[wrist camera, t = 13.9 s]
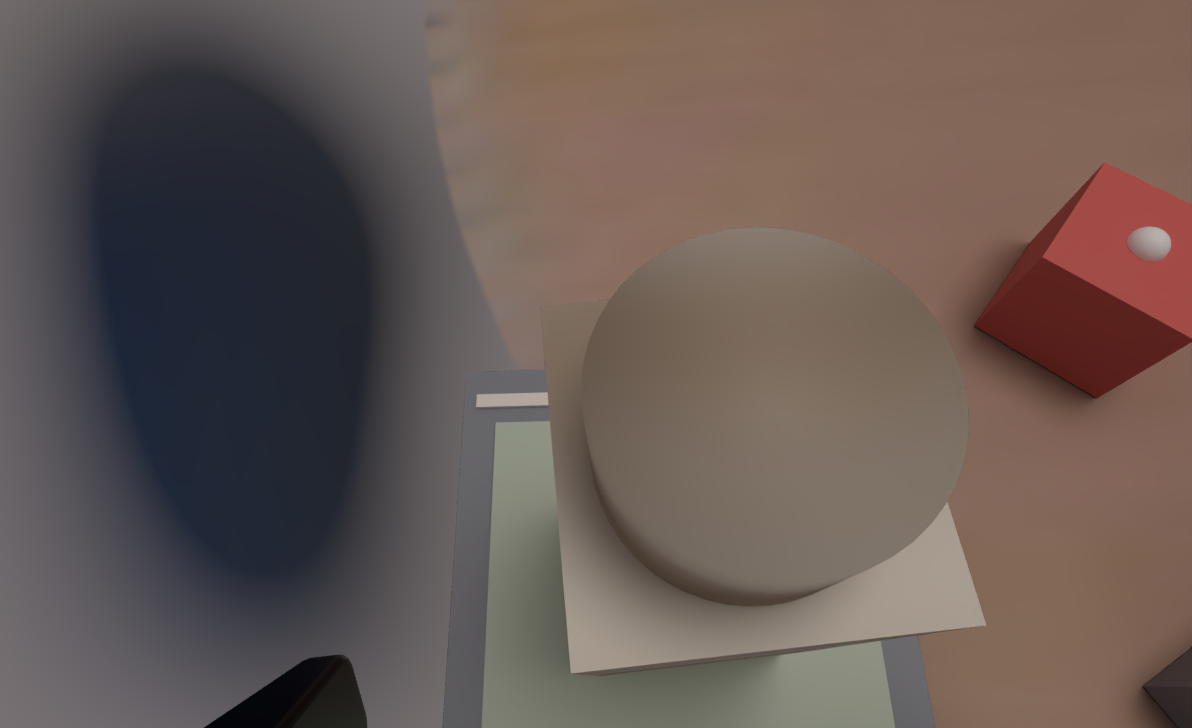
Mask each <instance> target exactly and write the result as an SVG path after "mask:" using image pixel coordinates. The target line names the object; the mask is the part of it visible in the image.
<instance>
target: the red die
mask: <svg viewBox="0 0 1192 728" xmlns="http://www.w3.org/2000/svg"><path fill="white" fill-rule="evenodd" d="M974 326H976V327H977V328H979V329H981V330H982V331H984V332H986V333H987V334H989V335H991V336H992V337H994V338H996V339H998V340H999V341H1001V342H1003V343H1004V344H1006V345H1008V346H1009V347H1011V348H1013V349H1014V350H1016V351H1018V352H1020V353H1021V354H1023V355H1025V356H1026V357H1028V358H1030V359H1031V360H1033V361H1035V362H1036V363H1038V364H1040V365H1042V366H1043V367H1045V368H1047V369H1048V370H1050V371H1052V372H1053V373H1055V374H1057V375H1058V376H1060V377H1062V378H1064V379H1065V380H1067V381H1069V382H1070V383H1072V384H1074V385H1075V386H1077V387H1079V388H1080V389H1082V390H1084V391H1086V392H1087V393H1089V394H1091V395H1092V396H1094V397H1096V398H1098V397H1100V396H1101V395H1103V394H1105V393H1107V392H1108V391H1110V390H1112V389H1113V388H1115V387H1117V386H1118V385H1120V384H1122V383H1123V382H1125V381H1127V380H1128V379H1130V378H1132V377H1134V376H1135V375H1137V374H1139V373H1140V372H1142V371H1144V370H1145V369H1147V368H1149V367H1150V366H1152V365H1154V364H1155V363H1157V362H1159V361H1161V360H1162V359H1164V358H1166V357H1167V356H1169V355H1171V354H1172V353H1174V352H1176V351H1177V350H1179V349H1181V348H1182V347H1184V346H1186V345H1188V344H1189V343H1191V342H1192V205H1191V204H1189V203H1187V202H1185V201H1183V200H1180V199H1178V198H1176V197H1174V196H1172V195H1170V194H1168V193H1166V192H1164V191H1162V190H1160V189H1158V188H1156V187H1154V186H1152V185H1150V184H1148V183H1146V182H1144V181H1142V180H1140V179H1138V178H1136V177H1134V176H1132V175H1130V174H1128V173H1126V172H1123V171H1121V170H1119V169H1117V168H1115V167H1113V166H1111V165H1109V164H1107V163H1104V164H1103V165H1102V166H1101V167H1100V168H1099V169H1098V170H1097V171H1096V172H1095V173H1094V174H1093V175H1092V176H1091V178H1090V179H1089V180H1088V181H1087V182H1086V183H1085V184H1084V185H1083V186H1082V187H1081V188H1080V189H1079V190H1078V192H1077V193H1076V194H1075V195H1074V196H1073V197H1072V198H1071V199H1070V200H1069V201H1068V202H1067V203H1066V204H1065V205H1064V207H1063V208H1062V209H1061V210H1060V211H1059V212H1058V213H1057V214H1056V215H1055V216H1054V217H1053V218H1052V219H1051V221H1050V222H1049V223H1048V224H1047V225H1046V226H1045V227H1044V228H1043V229H1042V230H1041V231H1040V232H1039V233H1038V235H1037V236H1036V237H1035V238H1034V239H1033V240H1032V241H1031V242H1030V243H1029V245H1028V246H1027V248H1026V249H1025V251H1024V252H1023V254H1022V255H1021V257H1020V258H1019V260H1018V261H1017V263H1016V264H1015V266H1014V267H1013V269H1012V270H1011V272H1010V273H1009V275H1008V276H1007V278H1006V279H1005V281H1004V282H1003V284H1002V285H1001V287H1000V288H999V290H998V291H997V293H996V294H995V295H994V297H993V298H992V300H991V301H990V303H989V304H988V306H987V307H986V309H985V310H984V312H983V313H982V315H981V316H980V318H979V319H978V321H977V322H976V324H975V325H974Z"/></svg>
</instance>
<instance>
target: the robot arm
mask: <svg viewBox="0 0 1192 728" xmlns="http://www.w3.org/2000/svg"><path fill="white" fill-rule="evenodd" d="M204 728H367V718H366V713H365V709H364V706H363V703H362V698H361V695H360V691H359V688H358V684H357V681H356V677H355V674H354V670H353V667H352V664H351V662H350V660H349V659H348V658H347V657H346V656H344V655H331V656H322V657H313V658H309V659H306V660H304V661H302V662H301V663H299V664H298V665H296V666H295V667H293V668H292V669H290V670H289V671H287V672H286V673H285V674H283V675H281V676H280V677H278V678H277V679H275V680H274V681H273V682H271V683H269V684H268V685H267V686H265V687H263V688H262V689H261V690H259V691H258V692H256V693H255V694H253V695H252V696H250V697H249V698H247V699H246V700H244V701H243V702H241V703H240V704H238V705H237V706H235V707H234V708H233V709H231V710H229V711H228V712H226V713H225V714H224V715H222V716H220V717H219V718H217V719H216V720H214V721H213V722H211V723H210V724H209V725H207V726H206V727H204Z"/></svg>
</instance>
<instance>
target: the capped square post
mask: <svg viewBox="0 0 1192 728" xmlns="http://www.w3.org/2000/svg"><path fill="white" fill-rule="evenodd" d="M540 309H541V321H542V333H543V345H544V357H545V369H546V381H547V393H548V405H549V417H550V429H551V441H552V453H553V465H554V477H555V489H556V501H557V513H558V525H559V537H560V549H561V561H562V573H563V585H564V597H565V609H566V621H567V634H568V646H569V658H570V670H571V674H582V675H595V676H606V675H615V674H624V673H632V672H641V671H650V670H658V669H667V668H675V667H684V666H693V665H701V664H710V663H719V662H727V661H736V660H744V659H753V658H762V657H770V656H779V655H786V654H793V653H800V652H807V651H814V650H821V649H827V648H834V647H841V646H848V645H855V644H862V643H869V642H876V641H883V640H890V639H896V638H903V637H910V636H917V635H924V634H931V633H938V632H945V631H952V630H958V629H965V628H972V627H979V626H986V623H985V620H984V616H983V613H982V610H981V607H980V604H979V601H978V597H977V594H976V591H975V588H974V585H973V581H972V578H971V575H970V572H969V569H968V566H967V562H966V559H965V556H964V553H963V550H962V547H961V543H960V540H959V537H958V534H957V531H956V528H955V524H954V521H953V518H952V515H951V512H950V508H949V505H948V502H947V501H948V499H949V497H950V495H951V493H952V492H953V490H954V488H955V486H956V484H957V482H958V478H959V475H960V472H961V469H962V466H963V463H964V460H965V455H966V449H967V443H968V437H969V408H968V400H967V393H966V387H965V383H964V379H963V376H962V372H961V369H960V365H959V363H958V360H957V358H956V356H955V353H954V351H953V349H952V346H951V344H950V342H949V340H948V339H947V337H946V335H945V333H944V332H943V330H942V328H941V327H940V325H939V323H938V322H937V320H936V319H935V318H934V316H933V315H932V314H931V312H930V311H929V310H928V308H927V307H926V306H925V305H924V303H923V302H922V301H921V300H920V299H919V298H918V297H917V296H916V295H915V294H914V293H913V292H912V291H911V290H910V289H909V288H908V287H907V286H906V285H905V284H904V283H903V282H901V281H900V280H899V279H898V278H897V277H895V276H894V275H893V274H892V273H891V272H889V271H888V270H887V269H885V268H884V267H882V266H881V265H879V264H878V263H876V262H874V261H873V260H871V259H870V258H868V257H866V256H864V255H862V254H861V253H859V252H857V251H855V250H853V249H851V248H849V247H847V246H844V245H842V244H839V243H836V242H834V241H831V240H829V239H826V238H822V237H819V236H815V235H811V234H808V233H804V232H798V231H792V230H786V229H777V228H740V229H731V230H725V231H719V232H713V233H710V234H706V235H703V236H699V237H696V238H692V239H690V240H688V241H685V242H683V243H680V244H678V245H676V246H673V247H671V248H669V249H668V250H666V251H664V252H662V253H661V254H659V255H657V256H655V257H654V258H652V259H651V260H650V261H648V262H647V263H646V264H644V265H643V266H642V267H640V268H639V269H638V270H636V271H635V272H634V273H633V274H632V275H631V276H630V277H629V278H628V279H627V280H626V281H625V282H624V283H623V284H622V285H621V286H620V287H619V289H618V290H617V291H616V292H615V294H614V295H613V296H612V298H611V299H607V300H598V301H589V302H580V303H571V304H562V305H553V306H544V307H540Z"/></svg>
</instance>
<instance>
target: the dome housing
mask: <svg viewBox="0 0 1192 728" xmlns="http://www.w3.org/2000/svg"><path fill="white" fill-rule="evenodd" d="M1143 687H1144V688H1145V689H1146V690H1147V691H1148V692H1149V694H1150V695H1151V696H1152V697H1153V698H1154V699H1155V701H1156V702H1157V703H1158V704H1159V705H1160V707H1161V708H1162V709H1163V710H1164V711H1165V712H1166V714H1167V715H1168V716H1169V717H1170V718H1171V720H1172V721H1173V722H1174V723H1175V724H1176V725H1177V727H1178V728H1192V648H1191V649H1190V650H1188V651H1187V652H1186V653H1185V654H1183V655H1182V656H1181V657H1180V658H1178V659H1177V660H1176V661H1174V662H1173V663H1172V664H1171V665H1169V666H1168V667H1167V668H1166V669H1164V670H1163V671H1162V672H1160V673H1159V674H1158V675H1157V676H1155V677H1154V678H1153V679H1152V680H1150V681H1149V682H1148V683H1146V684H1145V685H1144V686H1143Z"/></svg>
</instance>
